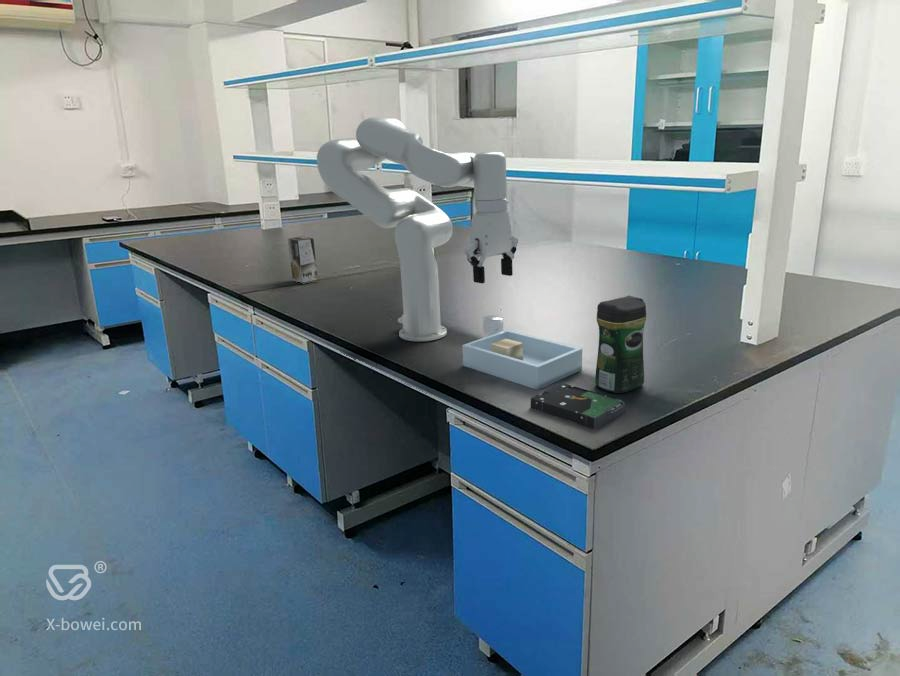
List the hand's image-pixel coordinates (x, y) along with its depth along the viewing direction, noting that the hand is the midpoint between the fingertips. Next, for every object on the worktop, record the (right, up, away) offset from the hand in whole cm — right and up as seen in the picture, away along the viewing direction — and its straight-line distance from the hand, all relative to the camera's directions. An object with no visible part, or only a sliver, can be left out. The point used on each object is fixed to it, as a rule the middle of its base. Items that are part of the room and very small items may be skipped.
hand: (493, 278), depth 158 cm
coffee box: (-64, +6, +84) cm, 106 cm away
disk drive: (+14, -29, -33) cm, 46 cm away
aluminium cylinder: (+1, -16, +5) cm, 17 cm away
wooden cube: (+2, -20, -12) cm, 23 cm away
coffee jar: (+24, -24, -23) cm, 41 cm away
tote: (+6, -21, -11) cm, 24 cm away
